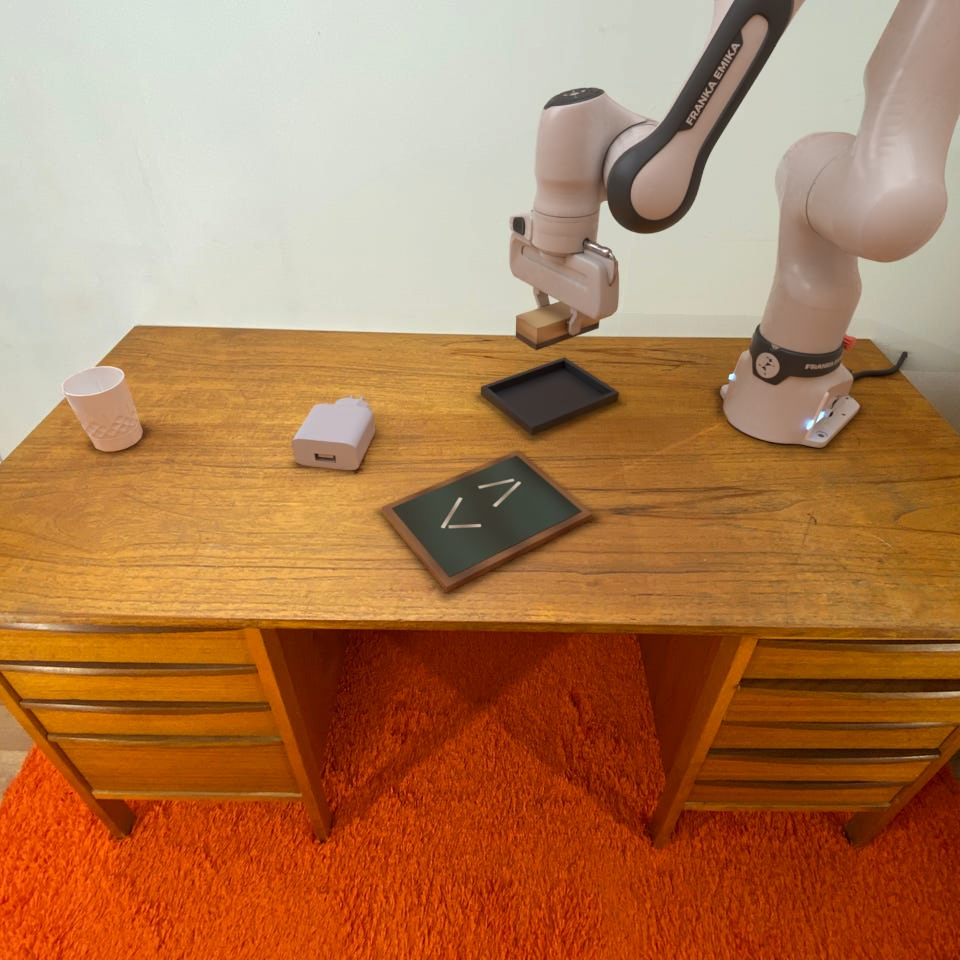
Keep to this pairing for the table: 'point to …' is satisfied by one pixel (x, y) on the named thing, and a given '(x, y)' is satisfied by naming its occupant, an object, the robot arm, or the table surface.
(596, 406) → the tray
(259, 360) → the table surface
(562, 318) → the eraser
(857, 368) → the table surface
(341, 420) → the charger
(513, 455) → the board
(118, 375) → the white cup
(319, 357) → the table surface
